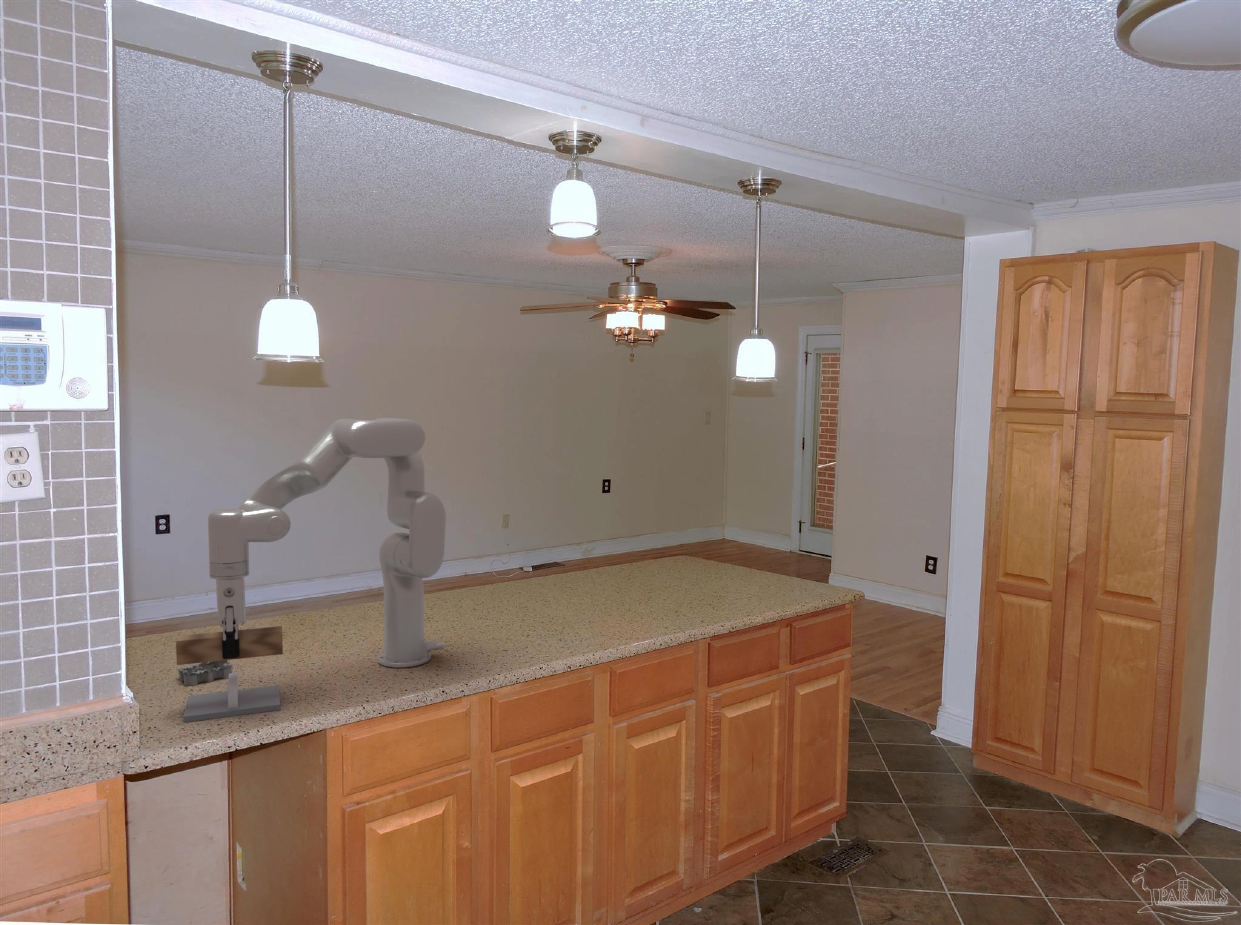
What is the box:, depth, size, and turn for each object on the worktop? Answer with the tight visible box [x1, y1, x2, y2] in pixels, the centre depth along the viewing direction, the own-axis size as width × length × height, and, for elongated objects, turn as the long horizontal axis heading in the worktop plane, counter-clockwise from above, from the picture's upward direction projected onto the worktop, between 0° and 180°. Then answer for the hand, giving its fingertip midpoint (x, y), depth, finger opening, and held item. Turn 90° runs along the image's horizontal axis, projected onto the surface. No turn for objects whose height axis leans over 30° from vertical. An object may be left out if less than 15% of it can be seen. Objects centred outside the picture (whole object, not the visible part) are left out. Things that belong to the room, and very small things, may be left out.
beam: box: [175, 625, 284, 666], centre depth 177 cm, size 20×4×5 cm, turn 113°
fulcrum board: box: [183, 672, 281, 723], centre depth 178 cm, size 18×12×6 cm, turn 113°
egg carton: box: [177, 660, 234, 686], centre depth 195 cm, size 11×8×4 cm
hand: (231, 653), depth 177 cm, fingers closed on beam, 4 cm apart
